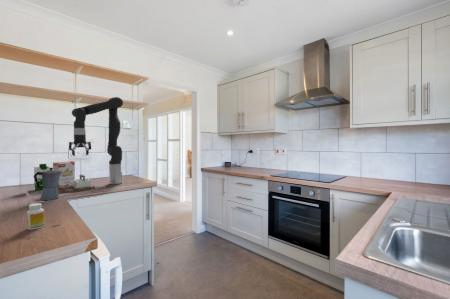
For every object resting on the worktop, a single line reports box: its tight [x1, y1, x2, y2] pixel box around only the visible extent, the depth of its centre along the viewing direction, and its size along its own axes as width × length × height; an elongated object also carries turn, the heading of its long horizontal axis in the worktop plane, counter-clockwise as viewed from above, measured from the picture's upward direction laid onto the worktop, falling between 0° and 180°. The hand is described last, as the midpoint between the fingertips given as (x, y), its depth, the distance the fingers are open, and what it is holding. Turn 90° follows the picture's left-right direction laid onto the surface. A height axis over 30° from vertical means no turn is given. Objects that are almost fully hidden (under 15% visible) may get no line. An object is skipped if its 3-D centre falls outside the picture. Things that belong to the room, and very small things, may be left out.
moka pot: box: [33, 167, 62, 201], centre depth 134 cm, size 10×15×20 cm, turn 161°
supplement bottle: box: [26, 202, 45, 231], centre depth 90 cm, size 5×5×10 cm
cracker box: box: [52, 160, 76, 188], centre depth 168 cm, size 14×6×21 cm, turn 168°
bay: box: [57, 182, 96, 195], centre depth 158 cm, size 23×13×9 cm, turn 136°
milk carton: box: [33, 163, 51, 191], centre depth 161 cm, size 9×9×20 cm
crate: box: [74, 174, 92, 189], centre depth 161 cm, size 9×10×10 cm
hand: (80, 155), depth 165 cm, fingers open, 8 cm apart
